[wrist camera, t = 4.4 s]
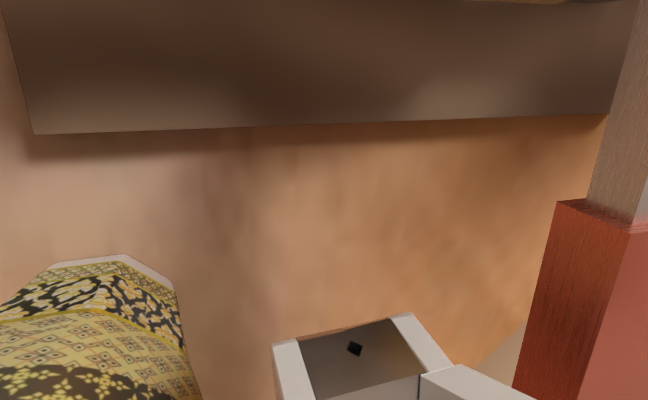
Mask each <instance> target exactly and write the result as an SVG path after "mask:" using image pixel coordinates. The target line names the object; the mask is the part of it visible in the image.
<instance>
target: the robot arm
mask: <svg viewBox="0 0 648 400" xmlns="http://www.w3.org/2000/svg"><path fill="white" fill-rule="evenodd" d="M270 351H271V360H272V368H273V377H274V385H275V393H276V399H277V400H536V399H534V398H532V397H530V396H528V395H526V394H524V393H522V392H519V391H517V390H515V389H513V388H511V387H509V386H507V385H505V384H502V383H500V382H498V381H496V380H494V379H492V378H490V377H487V376H485V375H483V374H481V373H479V372H477V371H475V370H473V369H471V368H468V367H466V366H464V365H462V364H458V365H453V364H452V362H451V361H450V360H449V359H448V357H447V356H446V355H445V354H444V352H443V351H442V350H441V349H440V347H439V346H438V345H437V344H436V342H435V341H434V340H433V339H432V337H431V336H430V335H429V334H428V332H427V331H426V330H425V329H424V327H423V326H422V325H421V324H420V322H419V321H418V320H417V318H416V317H415V316H414V315H413V314H412V313H410V312H404V313H400V314H396V315H392V316H388V317H386V318H382V319H378V320H373V321H369V322H365V323H361V324H357V325H352V326H348V327H344V328H340V329H335V330H330V331H325V332H320V333H315V334H310V335H306V336H301V337H296V339H295V338H293V339H288V340H284V341H279V342H274V343H270Z"/></svg>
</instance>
